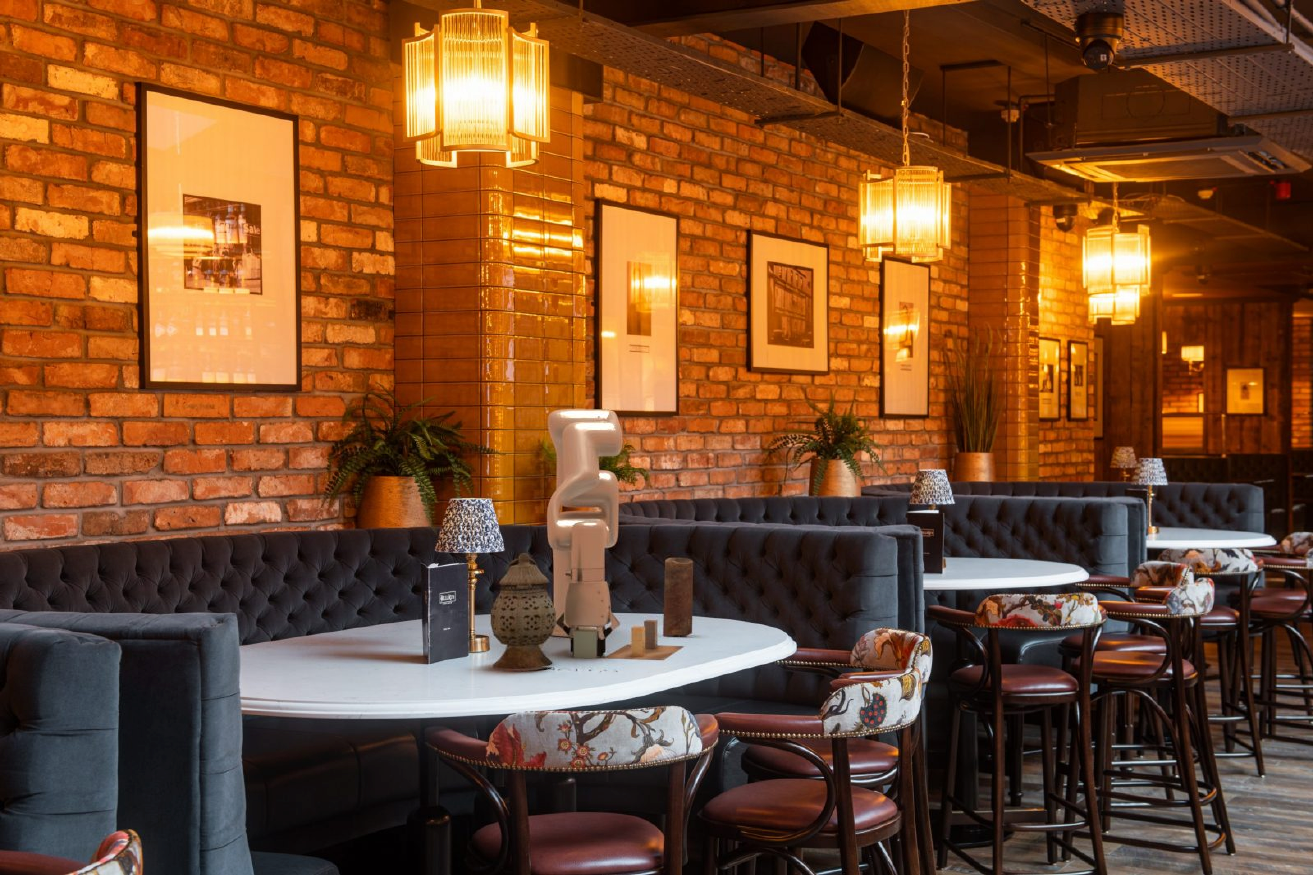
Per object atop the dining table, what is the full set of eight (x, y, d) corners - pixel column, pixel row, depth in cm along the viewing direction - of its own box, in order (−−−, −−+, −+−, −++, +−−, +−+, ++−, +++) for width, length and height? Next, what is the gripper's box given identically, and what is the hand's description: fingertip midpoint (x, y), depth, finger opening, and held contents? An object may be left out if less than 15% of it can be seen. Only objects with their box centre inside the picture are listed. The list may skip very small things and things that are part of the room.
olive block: (573, 660, 310) (573, 631, 310) (580, 657, 315) (580, 628, 315) (595, 661, 309) (595, 632, 309) (602, 658, 314) (602, 629, 314)
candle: (694, 635, 351) (694, 557, 352) (692, 639, 344) (691, 559, 344) (664, 635, 352) (664, 557, 352) (661, 639, 345) (661, 559, 345)
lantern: (478, 669, 298) (478, 554, 299) (512, 660, 311) (511, 549, 312) (535, 673, 293) (535, 556, 293) (566, 664, 306) (566, 551, 306)
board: (602, 661, 309) (602, 657, 309) (627, 647, 331) (627, 644, 331) (663, 663, 306) (663, 660, 306) (684, 649, 327) (684, 646, 327)
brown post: (644, 648, 323) (644, 621, 323) (646, 647, 326) (646, 619, 326) (654, 649, 323) (654, 621, 323) (657, 647, 325) (657, 620, 325)
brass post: (631, 656, 311) (631, 627, 312) (634, 654, 314) (634, 626, 314) (642, 656, 311) (642, 628, 311) (645, 655, 313) (645, 626, 313)
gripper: (547, 576, 311) (547, 657, 311) (620, 578, 307) (620, 659, 307) (557, 573, 318) (557, 652, 318) (628, 575, 314) (628, 654, 314)
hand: (588, 655), depth 312 cm, fingers closed on olive block, 5 cm apart
